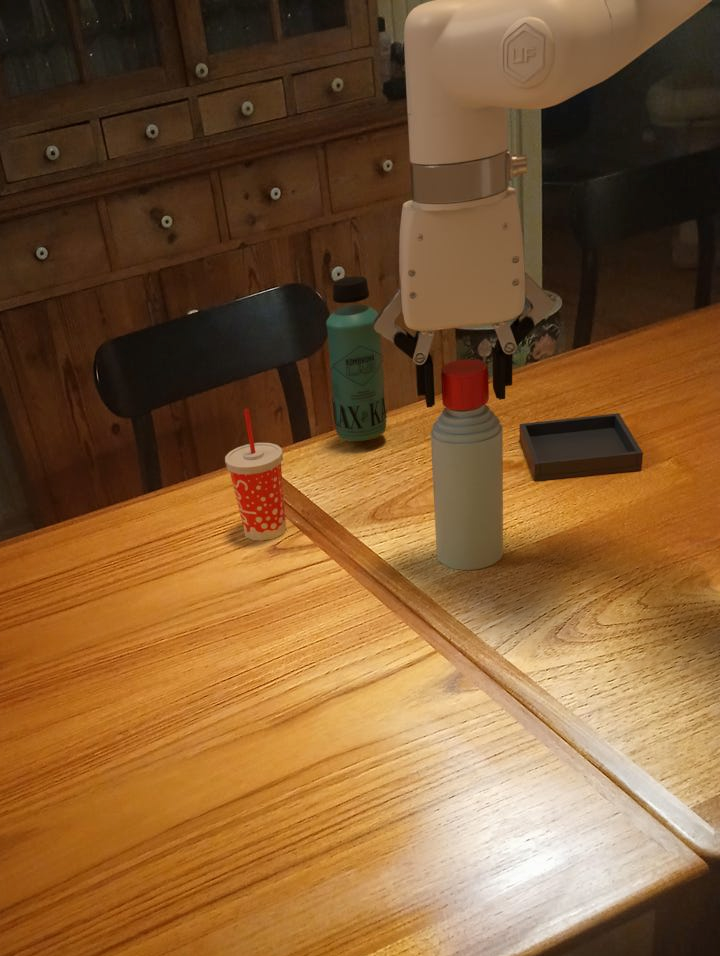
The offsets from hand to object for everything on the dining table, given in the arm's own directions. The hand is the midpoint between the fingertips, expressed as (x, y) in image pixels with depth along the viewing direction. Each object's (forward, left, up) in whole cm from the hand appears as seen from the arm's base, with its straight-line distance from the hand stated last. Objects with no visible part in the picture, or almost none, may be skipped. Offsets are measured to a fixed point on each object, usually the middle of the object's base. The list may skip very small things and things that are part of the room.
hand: (464, 395), depth 88 cm
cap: (0, 0, -1) cm, 1 cm away
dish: (-14, -20, -16) cm, 29 cm away
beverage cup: (+21, -9, -16) cm, 28 cm away
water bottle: (0, 0, -16) cm, 16 cm away
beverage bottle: (+10, -30, -16) cm, 36 cm away
